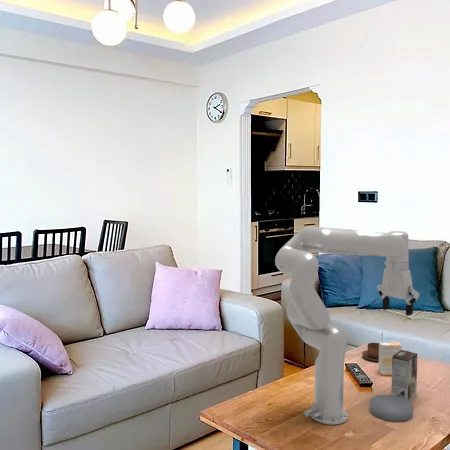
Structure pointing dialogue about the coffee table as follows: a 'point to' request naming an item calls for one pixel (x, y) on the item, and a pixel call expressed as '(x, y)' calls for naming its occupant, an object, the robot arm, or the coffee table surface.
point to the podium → (391, 408)
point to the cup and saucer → (372, 352)
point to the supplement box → (387, 356)
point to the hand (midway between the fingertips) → (397, 312)
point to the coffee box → (404, 375)
